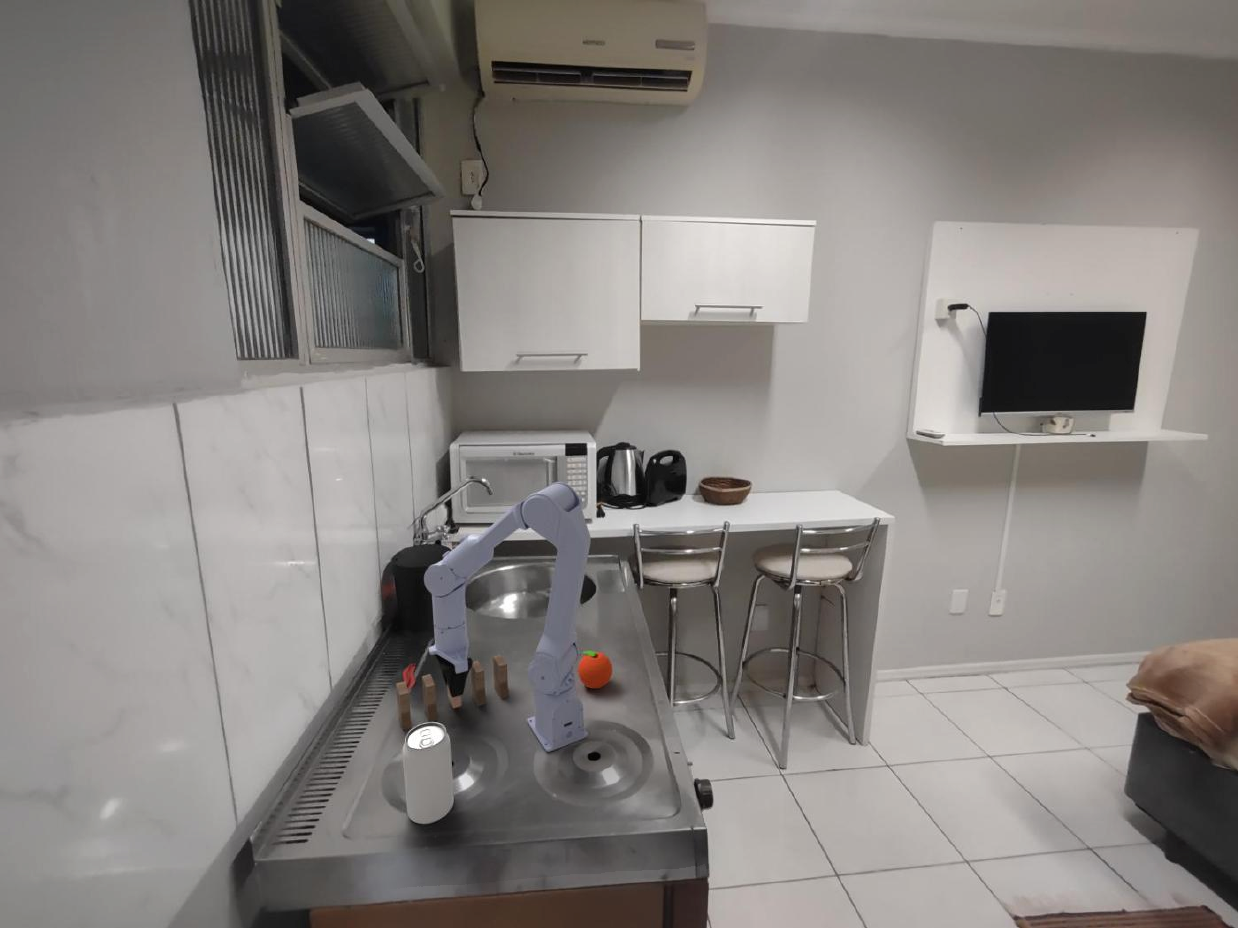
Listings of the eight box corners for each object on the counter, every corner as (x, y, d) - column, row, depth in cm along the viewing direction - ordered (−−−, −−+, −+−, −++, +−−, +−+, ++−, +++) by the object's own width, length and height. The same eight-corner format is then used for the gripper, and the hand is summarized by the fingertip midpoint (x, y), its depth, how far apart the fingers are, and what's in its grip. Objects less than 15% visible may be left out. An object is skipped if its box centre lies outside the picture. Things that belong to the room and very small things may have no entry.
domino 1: (411, 727, 95) (408, 692, 94) (402, 730, 95) (399, 694, 93) (407, 715, 99) (404, 681, 98) (398, 718, 98) (396, 683, 97)
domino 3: (461, 705, 100) (459, 671, 98) (453, 708, 99) (451, 673, 98) (455, 694, 103) (454, 661, 102) (448, 696, 102) (446, 663, 101)
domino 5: (508, 696, 105) (506, 663, 103) (500, 698, 104) (499, 666, 102) (501, 686, 108) (500, 654, 107) (494, 688, 107) (492, 656, 106)
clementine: (567, 685, 108) (566, 653, 107) (589, 670, 114) (589, 639, 112) (597, 700, 103) (597, 666, 102) (619, 683, 109) (619, 651, 108)
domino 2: (437, 719, 98) (435, 684, 96) (428, 722, 97) (426, 687, 96) (432, 707, 101) (430, 673, 100) (424, 710, 100) (422, 676, 99)
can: (408, 832, 74) (402, 756, 72) (406, 798, 80) (400, 726, 78) (456, 817, 77) (452, 742, 74) (451, 785, 82) (447, 715, 80)
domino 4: (485, 703, 102) (484, 670, 101) (477, 706, 101) (476, 672, 100) (479, 692, 106) (477, 660, 104) (472, 695, 105) (470, 662, 104)
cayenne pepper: (405, 698, 104) (404, 689, 104) (383, 697, 105) (382, 688, 105) (432, 665, 116) (431, 657, 116) (412, 663, 117) (411, 655, 116)
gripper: (419, 611, 102) (424, 675, 105) (436, 644, 90) (441, 717, 92) (456, 603, 106) (460, 665, 108) (478, 634, 94) (481, 704, 96)
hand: (454, 688), depth 101 cm, fingers closed on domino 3, 4 cm apart
